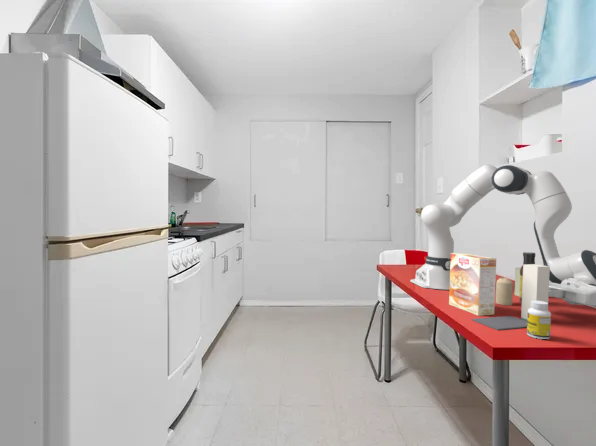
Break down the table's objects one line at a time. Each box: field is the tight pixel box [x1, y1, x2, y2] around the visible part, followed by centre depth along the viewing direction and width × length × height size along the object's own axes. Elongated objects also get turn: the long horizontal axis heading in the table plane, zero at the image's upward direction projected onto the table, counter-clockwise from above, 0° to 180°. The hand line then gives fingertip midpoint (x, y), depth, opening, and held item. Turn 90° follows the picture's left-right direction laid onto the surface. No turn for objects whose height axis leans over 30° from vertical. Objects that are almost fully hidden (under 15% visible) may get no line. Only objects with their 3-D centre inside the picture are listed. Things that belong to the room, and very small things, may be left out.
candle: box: [495, 277, 514, 306], centre depth 135 cm, size 6×6×10 cm
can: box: [513, 267, 521, 297], centre depth 150 cm, size 9×9×12 cm
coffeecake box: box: [448, 252, 497, 317], centre depth 125 cm, size 15×7×20 cm, turn 14°
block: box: [520, 263, 550, 321], centre depth 113 cm, size 5×5×18 cm
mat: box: [471, 315, 527, 331], centre depth 110 cm, size 10×16×1 cm, turn 106°
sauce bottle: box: [518, 251, 536, 304], centre depth 137 cm, size 6×6×20 cm
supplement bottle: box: [526, 300, 552, 340], centre depth 98 cm, size 5×5×10 cm
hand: (544, 292), depth 114 cm, fingers closed
